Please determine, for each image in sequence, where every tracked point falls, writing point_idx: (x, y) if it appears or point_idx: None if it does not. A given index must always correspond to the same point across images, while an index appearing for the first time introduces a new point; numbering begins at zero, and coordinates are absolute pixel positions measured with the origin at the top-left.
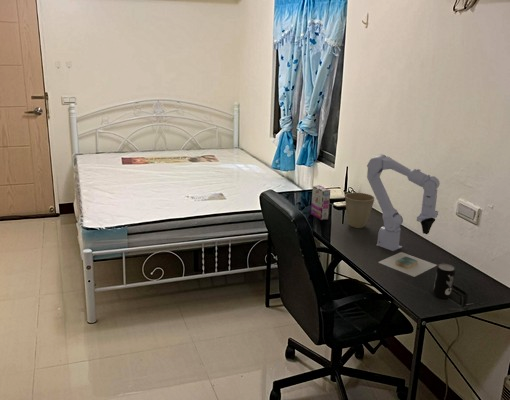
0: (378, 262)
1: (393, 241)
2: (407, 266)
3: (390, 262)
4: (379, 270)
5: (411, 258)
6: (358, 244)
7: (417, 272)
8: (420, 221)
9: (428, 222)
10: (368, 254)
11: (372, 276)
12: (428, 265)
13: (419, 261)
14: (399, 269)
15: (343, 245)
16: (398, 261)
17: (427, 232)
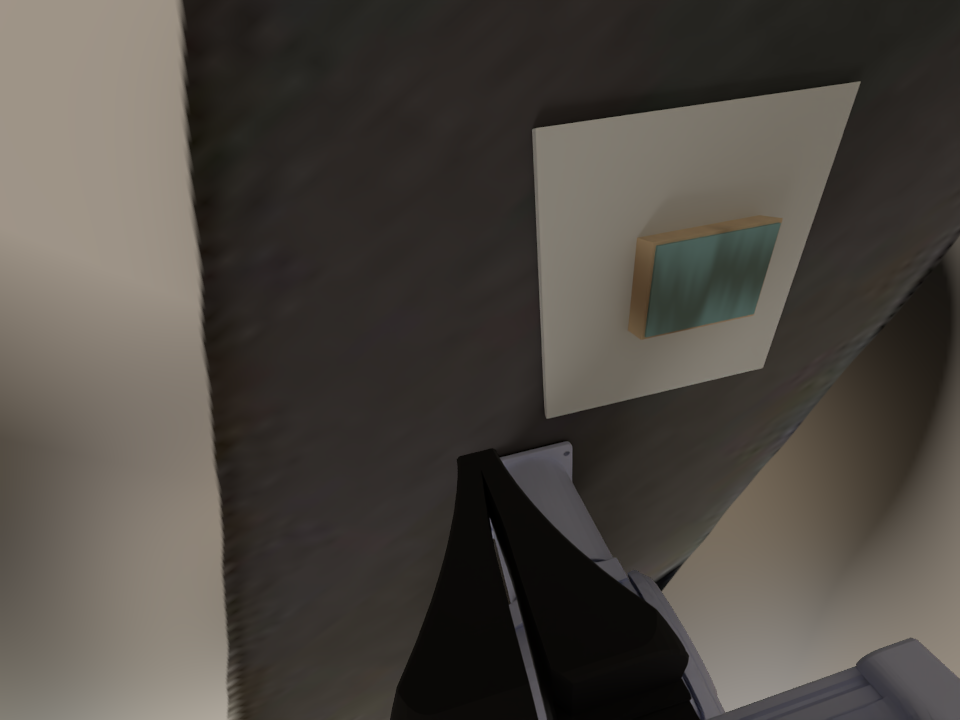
0: (763, 364)
1: (573, 498)
2: (776, 218)
3: (725, 337)
4: (836, 296)
5: (653, 294)
6: (616, 535)
7: (774, 126)
8: (931, 654)
9: (665, 625)
10: (684, 452)
11: (926, 258)
12: (599, 171)
13: (586, 263)
14: (790, 238)
15: (669, 539)
16: (754, 300)
17: (499, 463)
